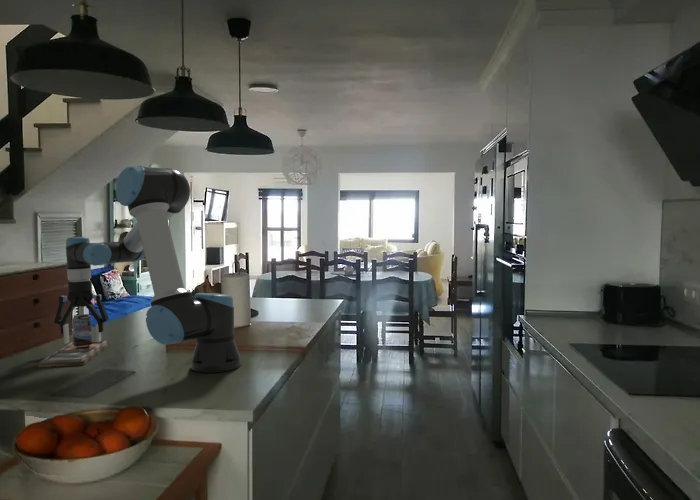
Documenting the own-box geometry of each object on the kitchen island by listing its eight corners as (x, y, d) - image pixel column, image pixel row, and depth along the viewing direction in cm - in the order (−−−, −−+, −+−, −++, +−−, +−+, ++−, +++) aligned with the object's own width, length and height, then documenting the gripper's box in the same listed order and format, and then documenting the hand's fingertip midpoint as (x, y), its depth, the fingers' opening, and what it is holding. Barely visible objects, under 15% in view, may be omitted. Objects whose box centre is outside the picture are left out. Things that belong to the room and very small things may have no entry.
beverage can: (76, 350, 185) (74, 316, 185) (71, 346, 191) (69, 313, 190) (95, 347, 189) (93, 314, 189) (90, 344, 195) (88, 311, 194)
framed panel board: (84, 365, 172) (83, 358, 172) (37, 367, 170) (37, 361, 170) (109, 345, 197) (109, 340, 197) (69, 347, 196) (69, 342, 196)
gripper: (116, 278, 194) (119, 338, 195) (50, 280, 191) (53, 341, 192) (110, 280, 186) (113, 342, 188) (40, 282, 183) (44, 346, 185)
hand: (82, 342), depth 190 cm, fingers open, 10 cm apart
